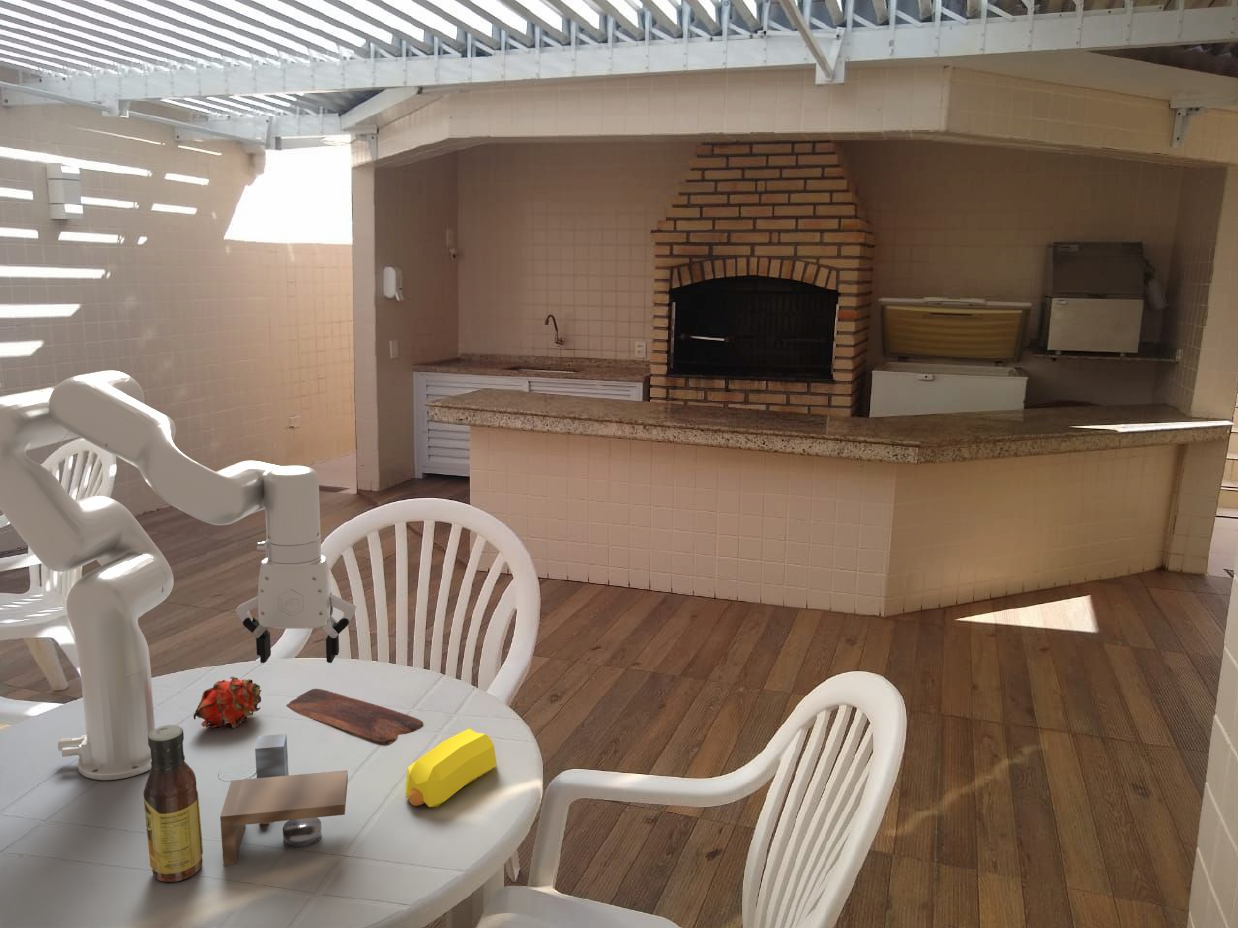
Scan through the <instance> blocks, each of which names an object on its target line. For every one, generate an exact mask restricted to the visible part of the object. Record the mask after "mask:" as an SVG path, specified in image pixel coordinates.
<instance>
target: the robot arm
mask: <svg viewBox="0 0 1238 928" xmlns="http://www.w3.org/2000/svg"><path fill="white" fill-rule="evenodd" d="M145 401H146V400H145V394H144V390H143V388H142V386H141V385H140V383H138V381H137V380H136V379H134V378H133V377H131V376H130V375H129V374H127V373H125V372H121V371H118V370H109V369H108V370H101V371H95V372H89V373H84V374H83V373H82V374H78V375H74V376H71V377H68V378H66V379H64V380H63V381H61V382H60V383H58V384H56V385H53V386H49V387H43V388H39V389H34V390H28V391H24V392H18V393H12V394H6V395H0V511H1V512H2V514H3V515H4V516H5V518H6V519H7V521H8V522H9V523H10V525H11V526H12V527H13V528H14V530H15V531H16V532H17V534H18V535H19V536H20V537H21V539H22V540H23V541H24V542H25V543H26V545H27V547H28V548H29V549H30V550H31V552H32V553H33V555H34V556H36V558H37V559H38V560H39V561H40V562H41V564H43V565H44V566H45V567H46V568H48V569H49V570H52V571H54V572H59V573H64V572H70V571H73V570H77V569H79V568H81V567H83V566H85V565H88V564H90V563H92V562H94V561H96V562H98V564H99V565H100V566H98V567H96V568H94V569H93V570H91V571H89V572H87V573H85V574H84V575H83V576H82V577H80V578H79V579H78V580H77V581H76V582H75V583H74V584H73V585H72V586H71V588H70V590H69V592H68V594H67V598H66V602H65V603H66V604H65V605H66V613H67V616H68V620H69V623H70V626H71V629H72V631H73V635H74V639H75V642H76V650H77V655H78V663H79V673H80V681H81V692H82V701H83V703H82V704H83V711H84V720H85V721H84V723H85V732H86V734H82V735H81V736H80V737H64V738H63V737H62V738H60V739H58V743H57V750H58V751H59V752H61V756H62V757H73V756H78V757H79V758H78V760H77V769H78V773H80V774H81V775H82V776H84V777H85V778H89V779H92V780H97V781H113V780H121V779H127V778H132V777H135V776H138V775H141V774H144V773H146V772H148V771H150V770H151V761H152V759H151V749H150V747H149V745H148V734H149V733H150V732H151V731H152V730H154V729H156V720H155V707H154V697H153V696H154V695H153V684H152V683H153V682H152V681H153V680H152V671H151V670H152V669H151V661H150V659H151V658H150V650H149V645H148V643H147V640H146V637H145V635H144V634H143V632H142V629H141V628H140V625H139V618H140V617H142V616H144V614H146V613H147V612H149V611H151V610H153V609H154V608H156V607H157V606H158V605H160V604H161V603H163V602H165V600H166V599H167V598H168V597H169V596H170V594H171V593H172V591H173V587H174V574H173V570H172V567H171V566H170V564H169V562H168V560H167V559H166V557H165V556H164V554H163V553H162V551H161V550H160V549H159V548H158V546H157V544H155V542H154V541H153V540H152V538H151V537H150V536H149V535H148V533H147V532H146V530H145V529H144V527H142V525H141V524H140V523H139V522H138V520H137V518H136V517H135V516H134V515H133V514H132V512H131V511H130V510H129V509H128V508H127V507H126V506H124V504H122V503H121V502H119V501H117V500H116V499H113V498H111V497H108V496H106V495H105V496H104V495H91V496H86V497H83V498H80V499H77V500H75V499H74V498H73V497H72V496H71V495H70V494H69V493H68V492H67V490H66V489H65V488H64V487H63V485H62V483H60V481H59V479H57V477H56V476H55V475H54V474H53V473H52V472H51V471H50V470H48V469H47V468H45V467H44V466H43V465H41V464H40V463H39V462H36V461H35V460H32V459H31V458H30V457H28V456H27V451H31V450H34V449H39V448H42V447H46V446H49V445H52V444H57V443H60V442H63V441H66V440H71V439H74V438H81V439H83V440H85V441H87V442H89V443H91V444H92V445H93V446H96V447H98V448H100V449H102V450H104V451H106V452H107V453H109V454H111V455H113V456H115V457H117V458H118V459H121V460H122V461H124V462H126V463H128V464H130V465H132V466H134V467H135V468H136V469H138V470H139V473H140V474H141V476H142V479H144V481H145V482H146V483H147V485H148V486H149V487H150V488H151V489H152V491H153V492H154V493H155V494H156V495H157V496H158V497H159V498H160V499H162V501H164V502H165V503H166V504H169V505H170V506H172V507H174V508H175V509H177V510H179V511H181V512H183V513H185V514H187V515H189V516H191V517H193V518H195V519H197V520H199V521H201V522H204V523H206V524H210V525H215V526H227V525H228V526H229V525H232V524H234V523H236V522H238V521H241V520H242V519H244V518H246V517H248V516H249V515H251V514H254V513H257V512H260V511H263V510H264V511H265V513H264V514H265V528H266V529H265V532H266V539H265V541H262V542H257V543H256V551H257V552H262V553H264V554H265V558H264V559H263V560H261V565H260V569H259V576H258V577H259V578H258V591H257V596H255V597H252V598H251V599H248V600H247V601H245V602H243V603H240V604H239V605H237V607H236V608H235V613H236V614H237V616H238V618H239V619H240V620H241V621H242V625H243V626H244V628H246V629H247V630H248V631H249V632H250V633H252V637H253V638H255V641H256V642H255V644H256V645H255V646H256V655H257V656H259V658H260V659H259V661H260V664H265V663H266V662H268V660H269V659H270V657H271V655H272V652H271V651H272V650H271V647H272V646H271V632H270V630H268V629H280V630H281V629H289V630H290V629H295V630H296V629H297V630H298V629H302V630H303V629H307V630H309V629H320V628H321V629H322V630H323V631H325V633H326V634H327V636H326V638H325V652H326V653H325V655H326V657H325V659H326V663H328V664H332V663H333V661H334V659H335V658H336V656H338V655H339V653H340V640H339V639H340V636H339V635H340V634H341V632H343V631H344V630H345V629H346V628H347V627H348V625H349V624H350V622H351V620H352V618H353V616H354V614H355V612H356V611H357V605H355V604H353V603H351V602H349V601H347V600H346V599H342V598H341V597H339V596H336V595H334V594H333V590H332V589H333V588H332V581H331V576H330V571H329V564H328V562H327V561H328V560H327V559H326V556H325V555H322V544H321V543H322V542H321V541H322V539H321V537H322V536H321V509H320V508H321V507H320V481H319V475H318V472H316V470H315V469H314V468H312V467H308V466H306V465H277V464H273V463H268V462H264V461H257V460H243V461H239V462H236V463H234V464H232V465H229V466H227V467H224V468H222V469H219V470H217V471H215V470H213V469H210V468H208V467H207V466H205V465H204V464H203V465H202V464H201V463H200V462H197V461H195V459H192V458H190V457H189V456H188V455H186V454H184V453H183V452H182V451H181V450H180V449H179V448H178V447H177V446H176V444H175V443H174V441H175V437H176V434H177V430H176V429H177V428H176V423H175V421H174V420H173V419H172V418H171V417H170V416H168V415H166V414H164V413H162V412H161V411H158V410H157V409H155V408H153V407H150V406H149V405H147V404H145ZM256 608H257V619H256V618H255V617H254V616H253V615H252V613H251V612H250V611H251V610H254V609H256ZM334 608H335V609H337V610H339V611H341V612H343V616H342V618H340V619H339V620H338V621H337V620H336V619H335V617H334V616H332V615H333V612H334Z"/></svg>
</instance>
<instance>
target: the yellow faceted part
mask: <svg viewBox="0 0 1238 928" xmlns="http://www.w3.org/2000/svg"><path fill="white" fill-rule="evenodd" d="M497 763H498V762H497V757H496V751H495V745H494V742H493V740H492V739H491V738H490V737H489V736H488V734H487V733H481V732H476V731H474V730H473V729H471V728H467V729H465V730H462V731H461V732H458V733H456V734H455V735H453V736H451V737H449V738H447V739H446V740H443V741H441V742H440V743H439V744H438V745H436V746H435V747H434V748H432V749H431V750H428V752H426V753H425V754H423V755H422V756H420V757H419V758H418V759H416V760H415V761H414V762H412V763H411V764H410V765H408V767H407V770H406V771H407V773H406V780H405V798H407V799H408V801H409V803H410V804H411V805H413V806H415V807H417V806H422V805H424V804H425V805H426V806H427V807H429V808H437V807H439V806H441V805H443V803H445V802H446V801H447V800H448V799H450V798H451V797H452V796H454V795H455V794H456V793H457V792H458V791H459V790H461V789H462V788H463V787H464V786H466V785H468V784H471V783H472V782H473V781H475V780H477V779H479V778H480V777H482V776H483V774H484V775H485V774H487V773H489V772H491V770H492V769H494V768H495V767H497V766H498V765H497ZM488 771H489V772H488ZM478 777H479V778H478Z"/></svg>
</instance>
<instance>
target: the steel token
mask: <svg viewBox="0 0 1238 928" xmlns="http://www.w3.org/2000/svg"><path fill="white" fill-rule="evenodd" d="M321 838H322V821H321V820H320V819H319V817H317V818H307V819H297V820H287V821H286V822H285V823H284V824H283V826H282V840H283V844H284V845H285V846H286V847H288V848H290V849H305V848H309V847H311V846H314V845H315V844H316V843H318V842H319V841H320V840H321ZM319 839H320V840H319Z"/></svg>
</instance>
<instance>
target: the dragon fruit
mask: <svg viewBox="0 0 1238 928" xmlns="http://www.w3.org/2000/svg"><path fill="white" fill-rule="evenodd" d="M229 679H231V680H229V681H228V680H226V679H222V680H219V681H216V682H215V683H214V684H213V685H212V687H211V688H208V689H205V690H204V691H203V693H202V695H201V698H200V702H199V704H198V705H197V708H196V709H195V713H193V720H194V721H196V717H197V718H198V719H203V720H204V721H202V723H200V724H201V726H202V727H203V728H211V729H212V728H219V727H222V726H226V725H227V724H231V728H232V729H235V728H236V727H238V726H239V725H240V724H241V723H242V722H245V721H246V720H247V719H248V718H249V717H251V716H253V715H254V713H255V712H258V711H259V710H260V709H261V707H260V706H259V707H258V705H259V704H260V703H261V702H262V697H261V692H262V689H261V685H259V684H258V683H254V682H253V680H252V679H243V678H242V679H241V680H240V679H239V678H238V677H236V676H235V677H234V676H230V677H229Z"/></svg>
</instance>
